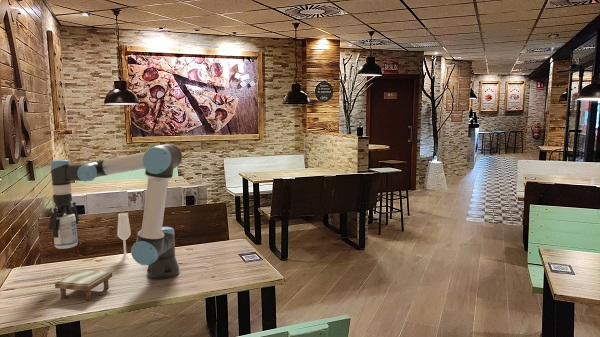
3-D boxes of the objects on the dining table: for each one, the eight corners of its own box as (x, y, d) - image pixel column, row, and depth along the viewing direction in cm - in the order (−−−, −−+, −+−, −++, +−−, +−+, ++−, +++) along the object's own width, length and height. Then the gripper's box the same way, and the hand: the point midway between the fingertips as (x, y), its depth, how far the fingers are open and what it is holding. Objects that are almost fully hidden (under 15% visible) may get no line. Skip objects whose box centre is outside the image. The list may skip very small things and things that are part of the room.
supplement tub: (79, 247, 201) (76, 216, 199) (55, 250, 196) (53, 218, 194) (76, 241, 209) (74, 212, 208) (53, 245, 204) (51, 214, 202)
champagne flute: (132, 254, 241) (130, 212, 238) (131, 258, 235) (129, 215, 231) (119, 255, 239) (116, 213, 236) (118, 259, 232) (115, 216, 229)
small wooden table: (113, 287, 196) (112, 271, 195) (89, 302, 181) (88, 285, 180) (81, 284, 199) (80, 269, 198) (56, 299, 184) (54, 282, 183)
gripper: (71, 188, 211) (75, 233, 214) (36, 197, 189) (40, 247, 192) (85, 189, 210) (88, 234, 213) (51, 198, 188) (55, 248, 191)
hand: (66, 240), depth 202 cm, fingers closed on supplement tub, 9 cm apart
